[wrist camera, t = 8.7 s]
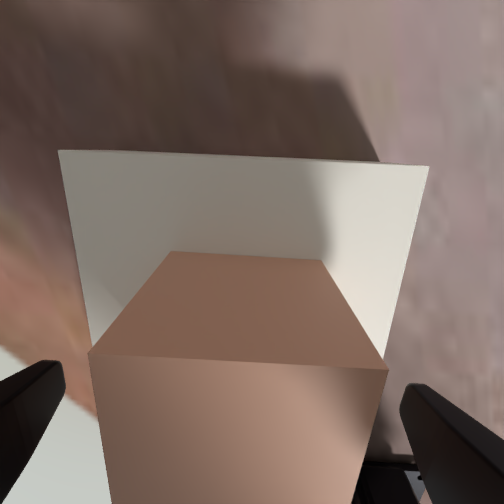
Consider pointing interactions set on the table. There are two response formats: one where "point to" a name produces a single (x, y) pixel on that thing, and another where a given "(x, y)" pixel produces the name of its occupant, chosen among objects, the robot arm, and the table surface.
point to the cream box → (240, 221)
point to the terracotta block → (236, 385)
